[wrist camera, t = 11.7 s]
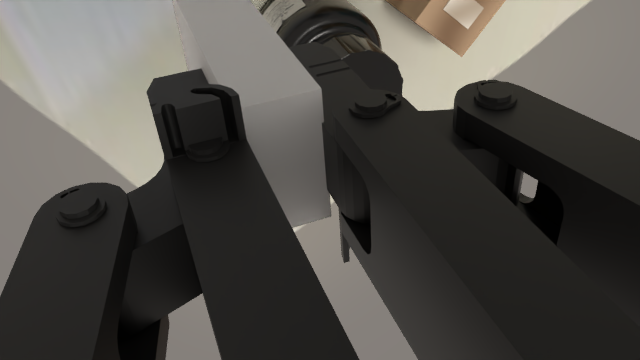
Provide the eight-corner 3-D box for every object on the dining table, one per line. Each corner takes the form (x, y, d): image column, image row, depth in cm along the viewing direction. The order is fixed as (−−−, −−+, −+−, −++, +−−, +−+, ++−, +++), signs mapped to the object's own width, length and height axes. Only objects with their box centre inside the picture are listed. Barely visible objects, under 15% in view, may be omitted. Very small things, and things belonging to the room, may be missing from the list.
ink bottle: (251, -23, 45) (301, 32, 36) (356, -26, 48) (427, 25, 39) (250, 91, 51) (294, 165, 42) (345, 83, 54) (405, 150, 44)
